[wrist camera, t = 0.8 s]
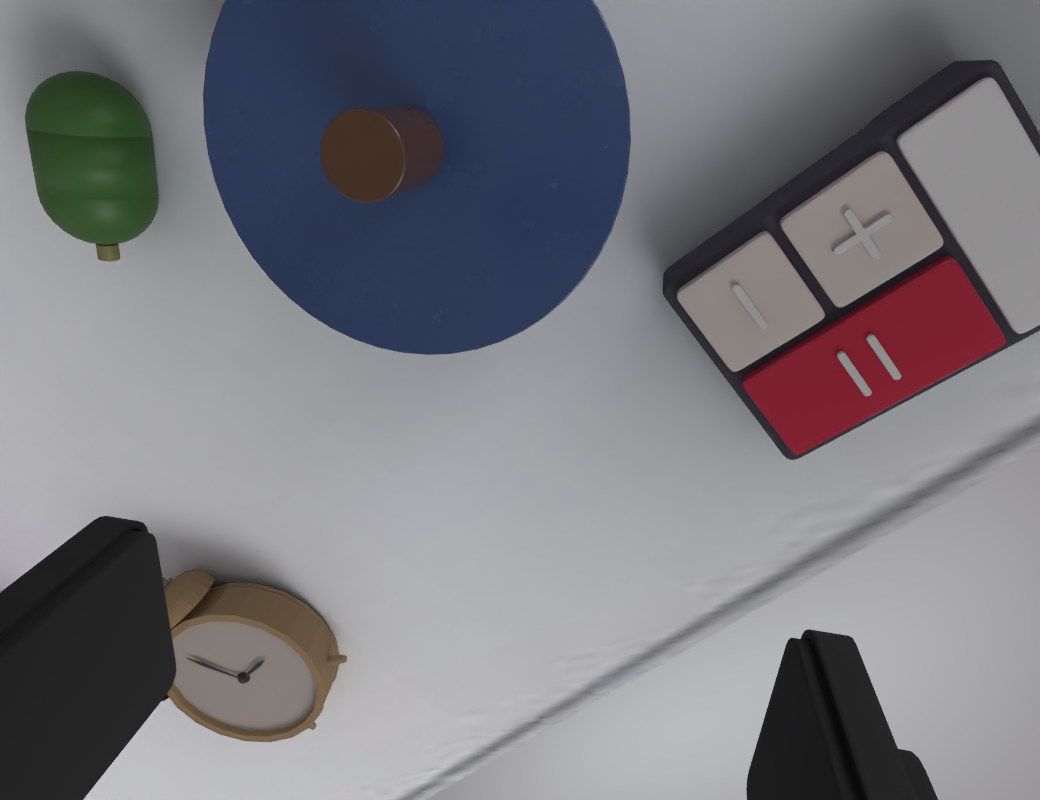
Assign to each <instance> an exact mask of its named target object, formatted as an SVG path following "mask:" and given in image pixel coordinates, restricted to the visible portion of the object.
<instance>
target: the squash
mask: <svg viewBox="0 0 1040 800" xmlns="http://www.w3.org/2000/svg"><path fill="white" fill-rule="evenodd" d="M25 122H26V131H27V137H28V143H29V148H30V154H31V160H32V165H33V171H34V177H35V182H36V188H37V193H38V196H39V199H40V202H41V204H42V206H43V208H44V210H45V212H46V213H47V214H48V216H49V217H50V218H51V219H52V221H53V222H54V223H55V224H57V225H58V226H59V227H60V228H61V229H62V230H63V231H65V232H67V233H68V234H70V235H72V236H73V237H75V238H78V239H80V240H83V241H86V242H89V243H95V244H96V248H97V254H98V259H99V260H102V261H116V260H119V259H120V251H119V244H118V243H123V242H127V241H129V240H131V239H133V238H135V237H137V236H139V235H140V234H141V233H142V232H144V231H145V230H146V229H147V227H148V226H149V225H150V224H151V222H152V221H153V219H154V217H155V214H156V212H157V208H158V203H159V193H158V184H157V175H156V165H155V156H154V147H153V138H152V131H151V127H150V123H149V120H148V118H147V116H146V113H145V111H144V110H143V108H142V107H141V105H140V104H139V102H138V101H137V100H136V99H135V98H134V97H133V96H132V95H131V93H129V92H128V91H127V90H126V89H124V88H123V87H122V86H121V85H119V84H118V83H116V82H114V81H112V80H110V79H109V78H106V77H104V76H101V75H98V74H95V73H89V72H84V71H70V72H65V73H60V74H57V75H54V76H52V77H50V78H48V79H46V80H45V81H44V82H42V83H41V84H40V85H39V86H38V87H37V88H36V89H35V91H34V92H33V93H32V95H31V97H30V99H29V102H28V104H27V108H26V114H25Z"/></svg>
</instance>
